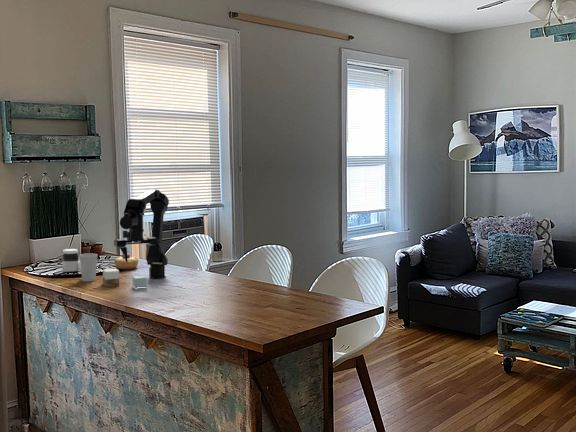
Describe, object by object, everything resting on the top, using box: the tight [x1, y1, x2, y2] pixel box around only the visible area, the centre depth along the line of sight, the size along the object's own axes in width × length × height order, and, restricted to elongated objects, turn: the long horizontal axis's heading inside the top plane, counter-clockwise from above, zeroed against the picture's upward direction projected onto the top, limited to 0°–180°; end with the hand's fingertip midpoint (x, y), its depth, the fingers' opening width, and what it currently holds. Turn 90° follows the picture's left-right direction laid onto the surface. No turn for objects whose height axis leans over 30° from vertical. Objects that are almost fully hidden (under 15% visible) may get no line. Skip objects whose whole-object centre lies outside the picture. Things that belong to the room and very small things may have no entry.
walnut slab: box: [102, 276, 120, 287], centre depth 283 cm, size 6×6×4 cm
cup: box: [78, 252, 98, 282], centre depth 291 cm, size 8×8×12 cm
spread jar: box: [61, 248, 81, 275], centre depth 305 cm, size 12×11×12 cm
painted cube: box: [132, 275, 148, 288], centre depth 278 cm, size 5×5×5 cm
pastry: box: [113, 250, 139, 271], centre depth 320 cm, size 12×12×9 cm
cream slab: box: [102, 268, 120, 280], centre depth 283 cm, size 6×6×4 cm
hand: (136, 260), depth 278 cm, fingers open, 9 cm apart
